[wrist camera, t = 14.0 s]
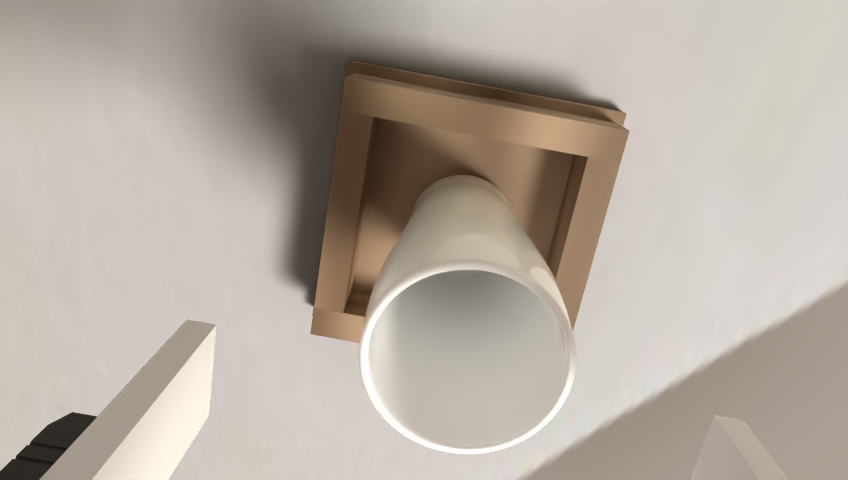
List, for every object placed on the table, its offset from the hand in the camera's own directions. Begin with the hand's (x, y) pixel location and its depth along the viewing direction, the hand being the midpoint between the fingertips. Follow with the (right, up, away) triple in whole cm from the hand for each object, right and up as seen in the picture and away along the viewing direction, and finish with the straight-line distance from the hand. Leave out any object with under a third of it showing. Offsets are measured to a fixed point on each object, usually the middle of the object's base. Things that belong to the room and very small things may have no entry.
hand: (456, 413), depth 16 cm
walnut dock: (+1, +6, +18) cm, 19 cm away
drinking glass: (+1, +6, +17) cm, 18 cm away
